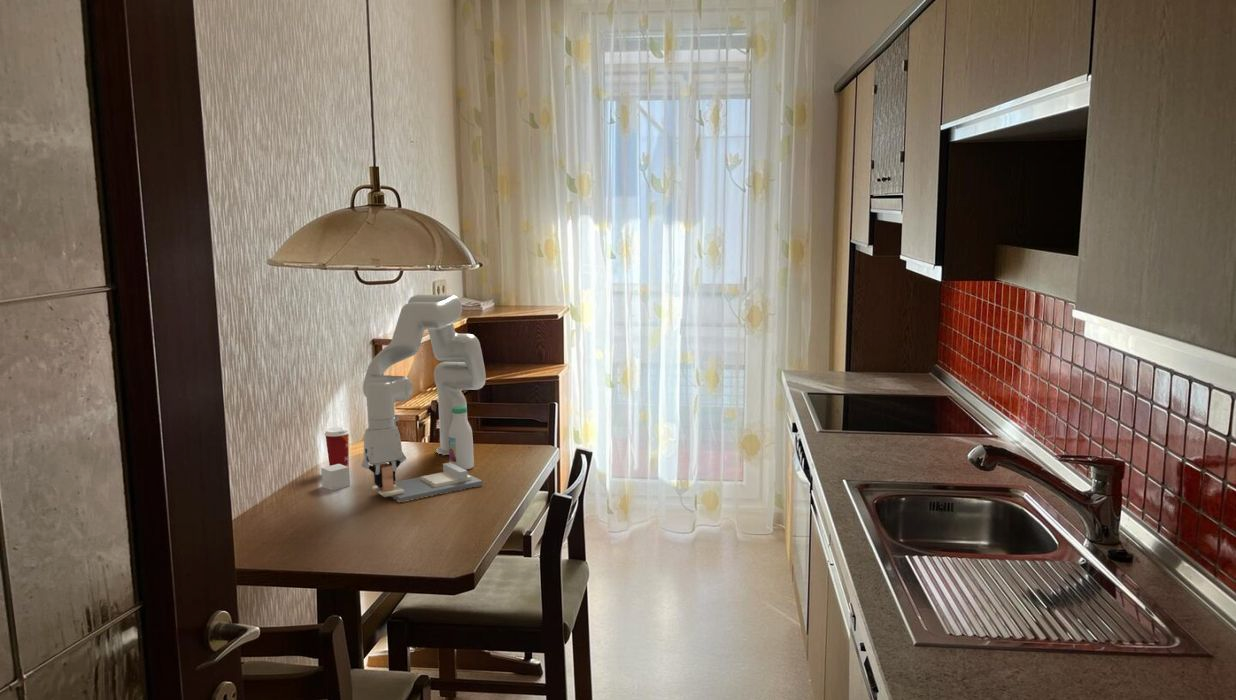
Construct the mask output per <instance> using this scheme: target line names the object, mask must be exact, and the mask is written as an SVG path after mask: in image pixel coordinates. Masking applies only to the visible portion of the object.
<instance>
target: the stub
mask: <svg viewBox="0 0 1236 700" xmlns="http://www.w3.org/2000/svg"><path fill="white" fill-rule="evenodd" d="M380 474H381V475H382V487H381V488H379V487H378V486H376V484H374V485H371V489H372V490H374V491H375V493H377V494H379V495H381V496H382V497H384V498H387V497H390V496H392V495H397V494H402V493H405V490H403V489H402V488H400V487H398V486H397V485H394V483H393V466H391V465H389V463H388V462H386V463H380Z"/></svg>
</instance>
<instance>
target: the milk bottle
mask: <svg viewBox="0 0 1236 700" xmlns="http://www.w3.org/2000/svg"><path fill="white" fill-rule="evenodd" d="M452 414H453V420H452V423H451V426H450V429H449V456H448V457H449V458H448V459H449V462H450V463H452V464H454V465H456V466H458V467H461V468H463V469H465V470H467V471H468V470H471V469H472V468H474V466H475V461H474V460H475V459H474V440H473V429H472V427H471V424H470V423H469V420H468V416H467V417H466V414H467V415H468V407H467V408H466V407H464V406H457V407H453V408H452Z"/></svg>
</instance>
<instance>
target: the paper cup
mask: <svg viewBox="0 0 1236 700" xmlns="http://www.w3.org/2000/svg"><path fill="white" fill-rule="evenodd" d="M350 433H351V432H350V431H349V429H348V428H347V427H346V426H338V427H335V426H334V427H330V428H327V429H325V433H324V436H325V441H326V448H327V457H328V465H329V466H331V465H336V464H341V465H344V466H347V467H349V466H350V464H349V463H350V462H349V461H350V458H349V457H350V456H349V454H350V453H349V452H350V451H349V449H350V448H349V447H350V446H349V445H350V443H349V439H350V438H349V437H350V436H349V434H350ZM349 468H350V467H349Z"/></svg>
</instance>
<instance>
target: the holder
mask: <svg viewBox="0 0 1236 700" xmlns="http://www.w3.org/2000/svg"><path fill="white" fill-rule="evenodd" d="M442 471H443V472H437V473H432V474H428V475H426V474H425V475H423V476H422V475H421V476H418V477H413V478H409V479H404V480H398V481H394V482H395V485H397V486H398V487H400V488H402V489H403V490H405V493H402V494H397V495H392V496H391V498H392V497H393V498H395V499H396V500H398V501H400V502H401V501H406V500H411V499H416V498H421V497H425V496H431V495H436V494H440V493H445V494H447V493H446V492H450V491H455V490H460V489H464V490H466V489H465V488H469V489H473V488H472V487H474V488H477V487H482V486H483V481H482V480H481V479H479V478H478V477H476V476H473V475H471V474H469V473H468V469H467V470H465V469H463V468H461V467H458V466H456V465H454V464H452V463H450V461H449V462H445V463H442ZM470 487H471V488H470ZM460 491H461V490H460ZM455 492H456V491H455ZM450 493H451V492H450ZM436 496H437V495H436ZM431 497H432V496H431ZM393 498H392V499H393ZM395 499H394V500H395ZM396 500H395V501H396ZM398 501H397V502H398Z"/></svg>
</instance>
